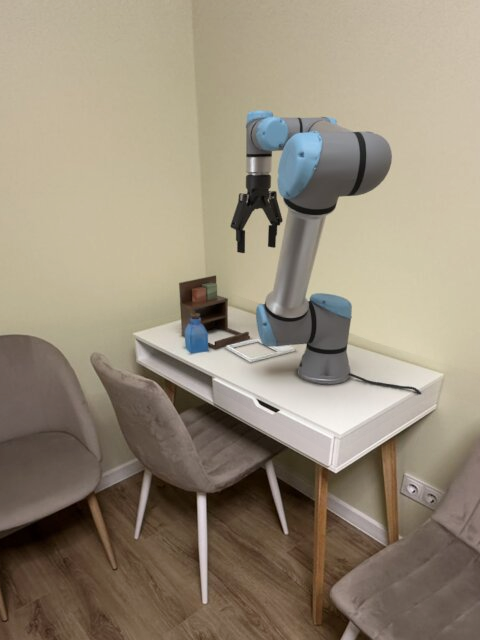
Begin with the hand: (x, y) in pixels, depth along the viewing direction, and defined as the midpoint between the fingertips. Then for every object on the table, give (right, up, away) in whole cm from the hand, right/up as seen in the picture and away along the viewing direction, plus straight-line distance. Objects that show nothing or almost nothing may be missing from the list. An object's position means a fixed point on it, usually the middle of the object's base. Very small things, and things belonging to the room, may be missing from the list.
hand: (256, 249), depth 150 cm
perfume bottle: (-20, -30, +10) cm, 37 cm away
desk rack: (-13, -24, +20) cm, 34 cm away
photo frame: (+2, -30, +9) cm, 32 cm away
